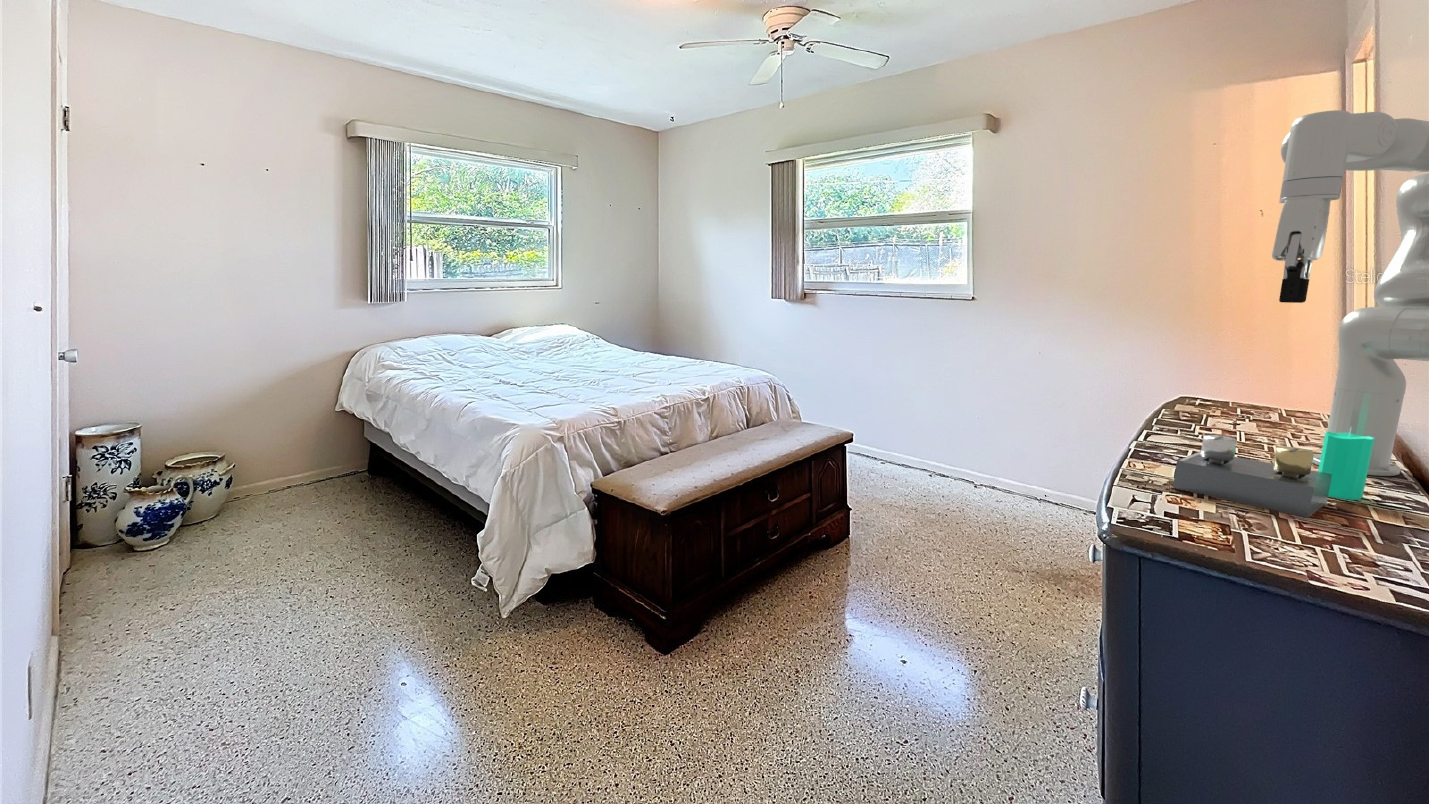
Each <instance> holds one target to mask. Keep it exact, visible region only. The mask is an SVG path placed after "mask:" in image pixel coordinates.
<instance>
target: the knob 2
mask: <svg viewBox="0 0 1429 804" xmlns="http://www.w3.org/2000/svg"><path fill="white" fill-rule="evenodd" d="M1314 455H1315V452H1314V451H1313V450H1310V449H1305V448H1301V447H1296V446H1295V447H1294V446H1285V445H1284V446H1283V445H1282V446H1276V447H1275V452H1274V459H1273V469H1274V470H1277V471H1280V472H1282V475H1285V476H1290V477H1296V478H1298V476H1299V475H1308V474H1310V472H1311V470H1312V466H1313V465H1312V464H1313V462H1312V461H1313V456H1314Z"/></svg>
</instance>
